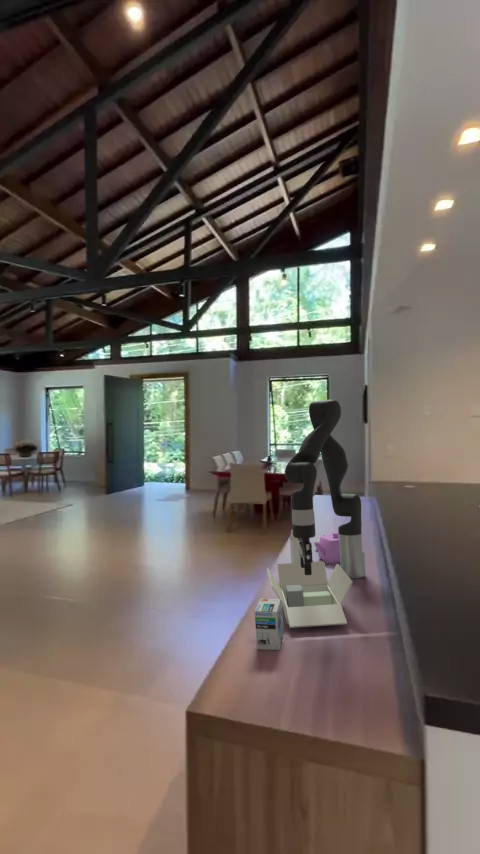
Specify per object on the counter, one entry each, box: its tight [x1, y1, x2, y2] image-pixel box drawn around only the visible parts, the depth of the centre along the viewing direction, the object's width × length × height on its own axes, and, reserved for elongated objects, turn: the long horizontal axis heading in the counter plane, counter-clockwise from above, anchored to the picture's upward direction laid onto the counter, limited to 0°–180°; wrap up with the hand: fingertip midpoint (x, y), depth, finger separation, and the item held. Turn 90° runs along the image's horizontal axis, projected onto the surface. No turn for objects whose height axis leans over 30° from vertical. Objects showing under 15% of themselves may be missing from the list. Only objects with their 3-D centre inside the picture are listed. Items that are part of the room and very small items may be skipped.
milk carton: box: [289, 529, 311, 563], centre depth 195 cm, size 7×7×19 cm
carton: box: [266, 560, 354, 629], centre depth 153 cm, size 25×32×12 cm
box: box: [286, 585, 331, 607], centre depth 155 cm, size 14×6×7 cm, turn 91°
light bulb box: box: [254, 597, 285, 651], centre depth 135 cm, size 11×7×11 cm, turn 168°
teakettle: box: [313, 531, 340, 565], centre depth 215 cm, size 17×17×12 cm
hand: (306, 571), depth 155 cm, fingers open, 8 cm apart
